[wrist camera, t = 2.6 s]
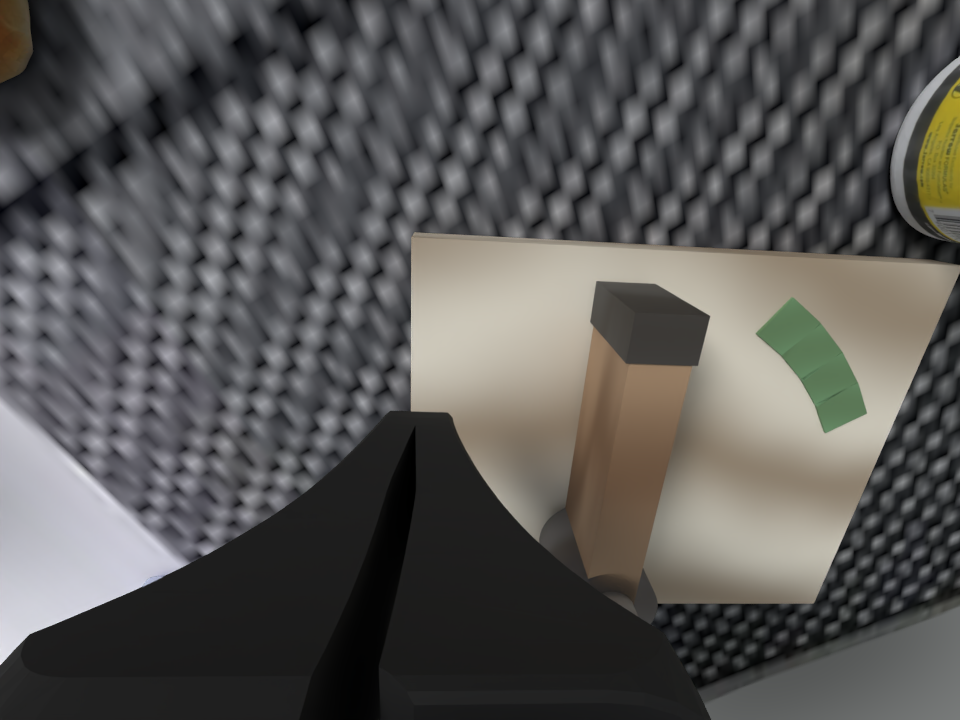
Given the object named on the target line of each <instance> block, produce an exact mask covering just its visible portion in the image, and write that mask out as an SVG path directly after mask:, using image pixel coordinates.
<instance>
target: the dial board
mask: <svg viewBox="0 0 960 720" xmlns="http://www.w3.org/2000/svg"><path fill="white" fill-rule="evenodd" d="M959 273H960V265H956V264H951V263H946V262H941V261H936V260H930V259H911V258H892V257H873V256H854V255H835V254H816V253H797V252H778V251H759V250H740V249H721V248H702V247H683V246H664V245H644V244H625V243H606V242H587V241H568V240H549V239H530V238H511V237H492V236H473V235H454V234H435V233H416V232H414V234H413V236H412V237H411V411H415V412H448V413H449V414H450V415H451V416H452V417H453V422H454V425H455V428H456V430H457V433H458V435H459V437H460V439H461V441H462V443H463V445H464V447H465V449H466V451H467V453H468V454H469V456H470V458H471V460H472V461H473V463H474V465H475V466H476V468H477V470H478V471H479V473H480V474H481V476H482V477H483V479H484V480H485V481H486V483H487V484H488V486H489V487H490V488H491V490H492V491H493V493H494V494H495V495H496V496H497V498H498V499H499V500H500V502H501V503H502V504H503V505H504V506H505V508H506V509H507V510H508V511H509V512H510V513H511V514H512V516H513V517H514V518H515V519H516V520H517V521H518V522H519V523H520V524H521V525H522V526H523V528H524V529H525V530H526V531H527V532H528V533H529V534H530V535H531V536H532V537H533V538H534V539H535V540H537V541H538V542H539V537H540V533H541V530H542V528H543V526H544V525H545V523H546V522H547V521H548V520H549V519H550V517H552V516H553V515H554V514H555V513H557V512H558V511H560V510H562V509H564V508H565V506H566V500H567V493H568V487H569V480H570V474H571V468H572V461H573V455H574V448H575V442H576V435H577V429H578V422H579V416H580V410H581V403H582V397H583V390H584V384H585V377H586V371H587V364H588V358H589V352H590V345H591V339H592V332H593V325H592V324H591V323H590V319H591V313H592V306H593V300H594V293H595V286H596V281H606V282H627V283H649V284H657V285H658V286H660V287H662V288H663V289H665V290H667V291H669V292H670V293H672V294H674V295H675V296H677V297H679V298H681V299H682V300H684V301H686V302H687V303H689V304H691V305H692V306H694V307H696V308H698V309H699V310H701V311H703V312H704V313H706V314H708V315H709V316H710V320H709V324H708V328H707V332H706V336H705V340H704V344H703V348H702V352H701V356H700V360H699V364H698V366H692V370H691V374H690V378H689V382H688V386H687V390H686V394H685V398H684V402H683V406H682V410H681V415H680V419H679V423H678V427H677V431H676V435H675V439H674V443H673V447H672V451H671V455H670V459H669V463H668V467H667V472H666V476H665V480H664V484H663V488H662V492H661V496H660V500H659V504H658V508H657V512H656V516H655V520H654V524H653V528H652V533H651V537H650V541H649V545H648V549H647V553H646V557H645V561H644V565H643V569H644V571H645V573H646V575H647V577H648V579H649V582H650V584H651V586H652V588H653V590H654V592H655V595H656V597H657V602H658V604H814V602H815V599H816V597H817V595H818V593H819V590H820V588H821V586H822V584H823V581H824V579H825V577H826V575H827V572H828V570H829V568H830V565H831V563H832V561H833V559H834V556H835V554H836V552H837V550H838V547H839V545H840V543H841V541H842V538H843V536H844V534H845V531H846V529H847V527H848V525H849V522H850V520H851V518H852V516H853V513H854V511H855V509H856V507H857V504H858V502H859V500H860V497H861V495H862V493H863V491H864V488H865V486H866V484H867V482H868V479H869V477H870V475H871V473H872V470H873V468H874V466H875V463H876V461H877V459H878V457H879V454H880V452H881V450H882V448H883V445H884V443H885V441H886V439H887V436H888V434H889V432H890V429H891V427H892V425H893V423H894V420H895V418H896V416H897V414H898V411H899V409H900V407H901V404H902V402H903V400H904V398H905V395H906V393H907V391H908V389H909V386H910V384H911V382H912V380H913V377H914V375H915V373H916V370H917V368H918V366H919V364H920V361H921V359H922V357H923V355H924V352H925V350H926V348H927V346H928V343H929V341H930V339H931V336H932V334H933V332H934V330H935V327H936V325H937V323H938V321H939V318H940V316H941V314H942V312H943V309H944V307H945V305H946V302H947V300H948V298H949V296H950V293H951V291H952V289H953V287H954V284H955V282H956V280H957V278H958V275H959Z"/></svg>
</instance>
